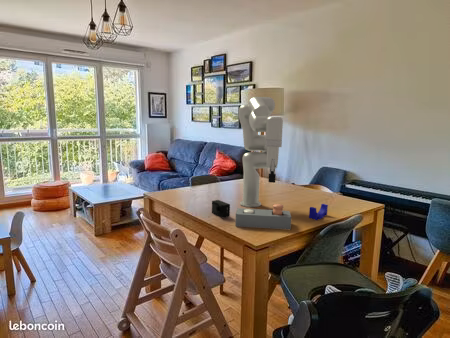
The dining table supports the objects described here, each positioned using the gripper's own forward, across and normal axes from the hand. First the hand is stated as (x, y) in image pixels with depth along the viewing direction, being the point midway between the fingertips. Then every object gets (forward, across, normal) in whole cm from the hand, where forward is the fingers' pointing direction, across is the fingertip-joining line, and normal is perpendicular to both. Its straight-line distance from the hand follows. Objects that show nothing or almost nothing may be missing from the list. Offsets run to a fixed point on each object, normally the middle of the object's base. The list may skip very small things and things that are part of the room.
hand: (271, 182), depth 144 cm
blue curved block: (+22, -19, +26) cm, 39 cm away
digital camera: (+22, -10, -27) cm, 36 cm away
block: (+21, 0, -4) cm, 22 cm away
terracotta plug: (+17, -1, +4) cm, 18 cm away
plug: (+21, 0, -10) cm, 23 cm away
